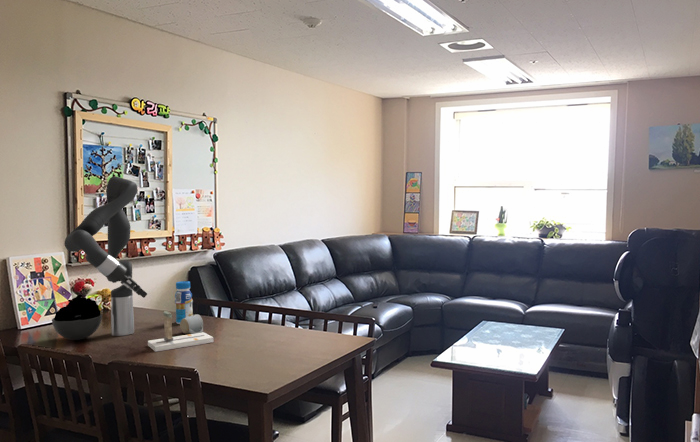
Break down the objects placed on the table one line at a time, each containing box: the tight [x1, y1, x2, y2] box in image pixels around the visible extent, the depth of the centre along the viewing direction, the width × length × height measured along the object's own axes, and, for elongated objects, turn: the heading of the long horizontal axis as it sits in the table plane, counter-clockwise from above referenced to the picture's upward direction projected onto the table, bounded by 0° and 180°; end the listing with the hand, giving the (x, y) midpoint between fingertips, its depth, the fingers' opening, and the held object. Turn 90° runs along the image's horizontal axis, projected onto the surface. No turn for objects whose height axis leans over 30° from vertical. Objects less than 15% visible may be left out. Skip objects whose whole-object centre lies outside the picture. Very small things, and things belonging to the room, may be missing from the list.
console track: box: [147, 331, 214, 352], centre depth 244 cm, size 24×12×2 cm, turn 123°
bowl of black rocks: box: [51, 294, 103, 341], centre depth 256 cm, size 20×20×19 cm
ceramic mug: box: [179, 313, 204, 335], centre depth 263 cm, size 11×8×8 cm
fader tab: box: [163, 310, 173, 341], centre depth 241 cm, size 3×6×12 cm, turn 33°
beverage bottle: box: [174, 280, 194, 325], centre depth 285 cm, size 8×8×20 cm
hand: (143, 294), depth 235 cm, fingers open, 7 cm apart
